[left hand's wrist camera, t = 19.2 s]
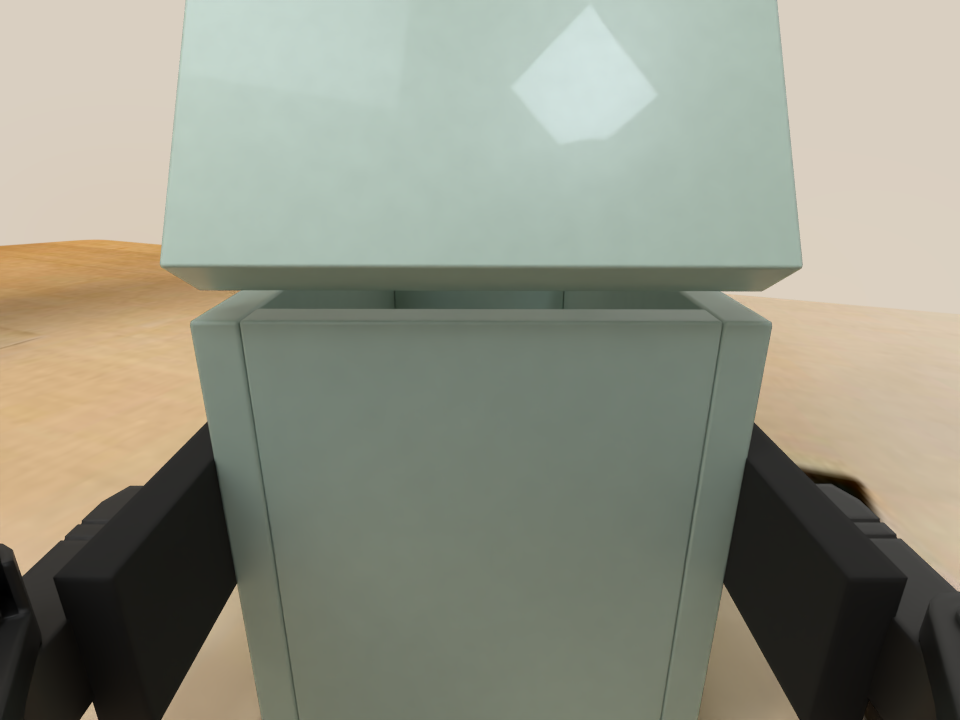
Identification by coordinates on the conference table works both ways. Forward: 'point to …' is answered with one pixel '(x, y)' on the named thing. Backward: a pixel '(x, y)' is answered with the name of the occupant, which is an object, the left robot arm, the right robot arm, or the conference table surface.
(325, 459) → the chest
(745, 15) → the lid
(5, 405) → the conference table surface
